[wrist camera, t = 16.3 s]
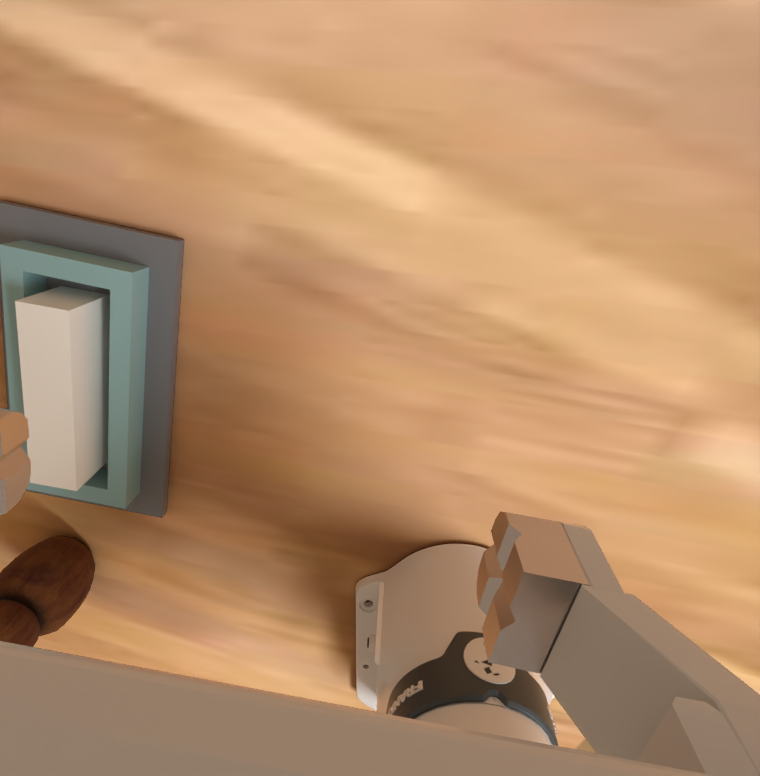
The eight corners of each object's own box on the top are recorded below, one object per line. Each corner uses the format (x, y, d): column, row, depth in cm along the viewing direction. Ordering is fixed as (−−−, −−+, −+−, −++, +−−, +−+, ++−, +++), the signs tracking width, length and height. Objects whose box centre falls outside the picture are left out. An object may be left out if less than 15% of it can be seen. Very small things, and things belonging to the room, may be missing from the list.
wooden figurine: (118, 570, 50) (8, 722, 36) (71, 589, 51) (-54, 743, 37) (74, 515, 48) (-61, 655, 34) (25, 536, 49) (-125, 679, 35)
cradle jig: (166, 511, 47) (148, 535, 44) (20, 481, 47) (-8, 504, 44) (184, 239, 38) (163, 245, 35) (3, 200, 38) (-34, 202, 35)
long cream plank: (111, 458, 44) (76, 491, 40) (69, 450, 44) (30, 482, 40) (109, 294, 39) (68, 310, 34) (61, 285, 39) (15, 300, 34)
